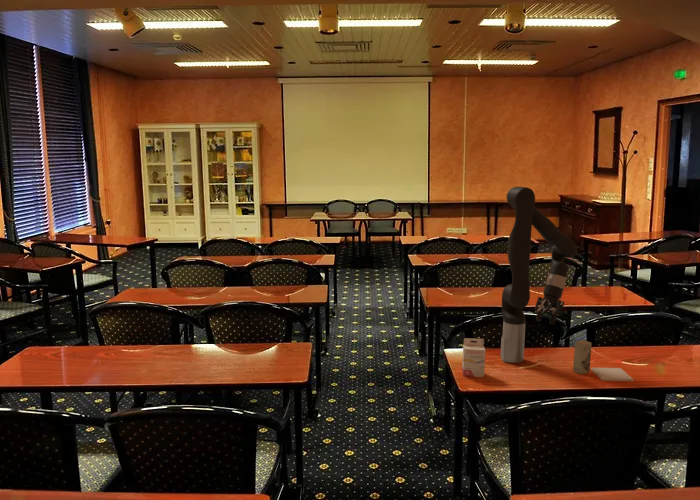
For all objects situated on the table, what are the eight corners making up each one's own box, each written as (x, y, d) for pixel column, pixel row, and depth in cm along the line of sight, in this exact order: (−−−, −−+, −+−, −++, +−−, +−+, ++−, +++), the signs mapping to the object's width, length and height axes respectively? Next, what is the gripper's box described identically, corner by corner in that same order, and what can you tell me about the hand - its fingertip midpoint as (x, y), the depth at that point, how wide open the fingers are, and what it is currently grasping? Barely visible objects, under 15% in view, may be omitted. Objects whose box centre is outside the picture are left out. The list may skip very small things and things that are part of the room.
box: (581, 374, 226) (583, 344, 224) (572, 371, 230) (574, 341, 228) (590, 372, 229) (592, 342, 226) (581, 369, 232) (583, 339, 230)
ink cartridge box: (463, 376, 225) (464, 341, 222) (461, 371, 230) (462, 337, 227) (484, 377, 224) (486, 342, 222) (482, 372, 229) (484, 338, 226)
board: (602, 380, 220) (602, 378, 220) (590, 369, 232) (591, 367, 232) (633, 381, 219) (633, 379, 219) (620, 369, 231) (620, 368, 231)
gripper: (536, 282, 244) (527, 317, 242) (559, 284, 230) (549, 322, 229) (550, 287, 246) (540, 322, 245) (573, 290, 233) (563, 327, 231)
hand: (544, 322), depth 237 cm, fingers open, 8 cm apart
